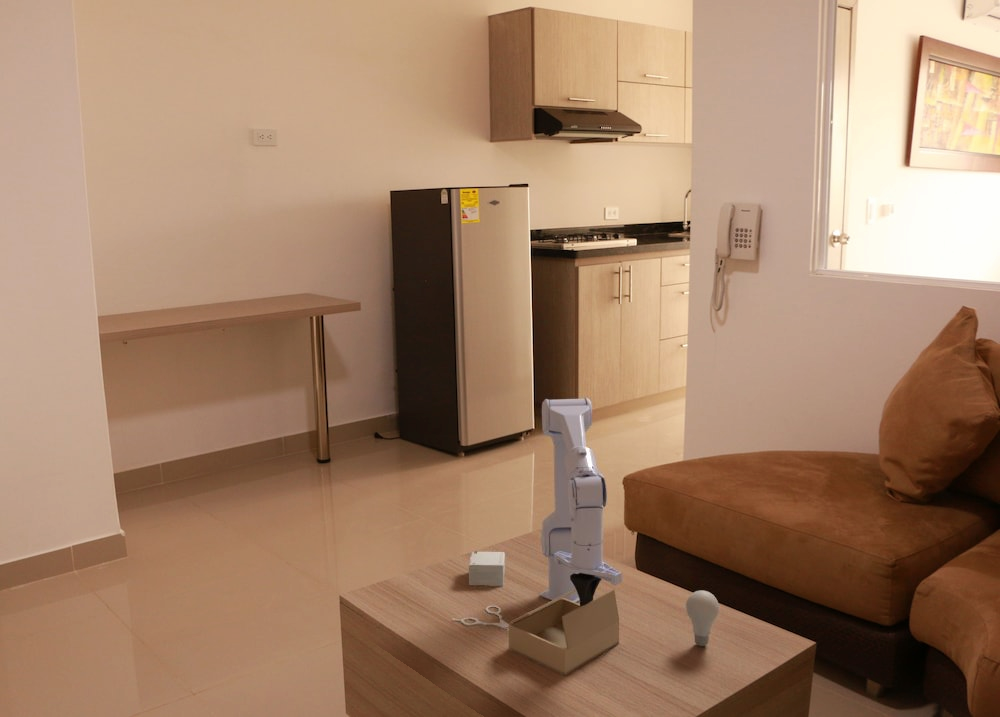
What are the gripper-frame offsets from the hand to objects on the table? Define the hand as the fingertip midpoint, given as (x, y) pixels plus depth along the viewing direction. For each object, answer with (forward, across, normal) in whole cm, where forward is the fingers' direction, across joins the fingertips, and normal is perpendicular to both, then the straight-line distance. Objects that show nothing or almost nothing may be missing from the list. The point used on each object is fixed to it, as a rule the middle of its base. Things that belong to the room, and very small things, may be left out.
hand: (586, 609), depth 166 cm
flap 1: (+3, -10, 0) cm, 10 cm away
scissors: (+10, -20, -2) cm, 22 cm away
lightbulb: (+10, +14, +18) cm, 25 cm away
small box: (+10, -38, +12) cm, 41 cm away
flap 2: (+1, +1, 0) cm, 2 cm away
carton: (+9, -6, 0) cm, 11 cm away
